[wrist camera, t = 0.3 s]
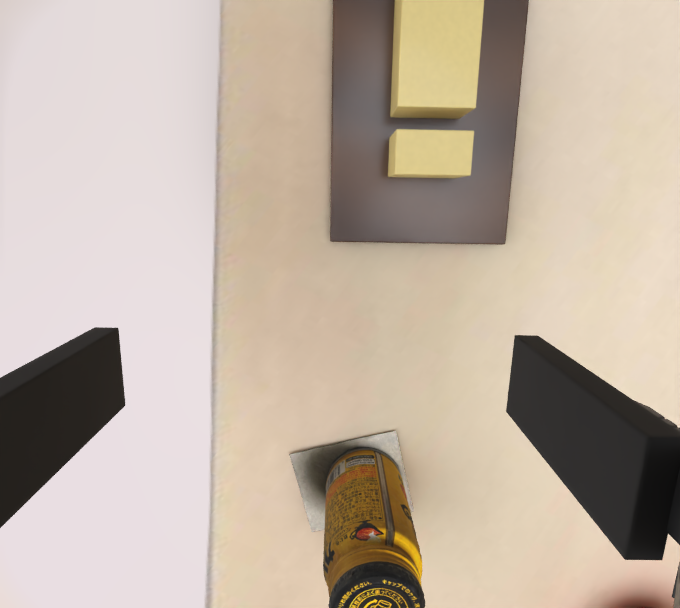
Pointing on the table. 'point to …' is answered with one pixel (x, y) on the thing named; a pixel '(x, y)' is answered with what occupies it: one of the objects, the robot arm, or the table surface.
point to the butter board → (377, 127)
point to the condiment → (363, 522)
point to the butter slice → (430, 153)
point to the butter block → (435, 58)
